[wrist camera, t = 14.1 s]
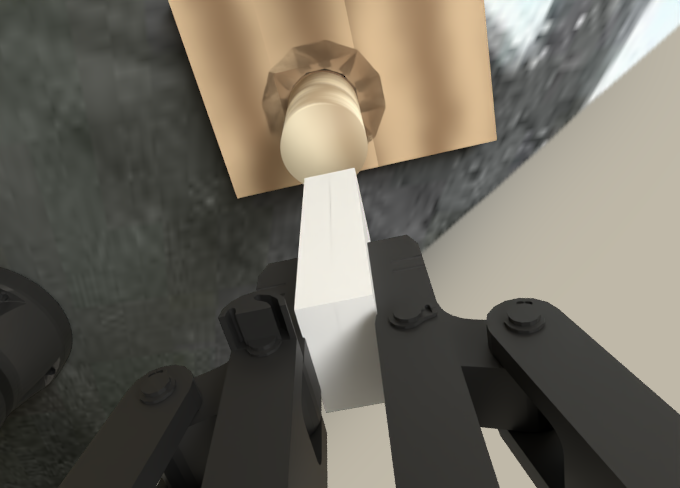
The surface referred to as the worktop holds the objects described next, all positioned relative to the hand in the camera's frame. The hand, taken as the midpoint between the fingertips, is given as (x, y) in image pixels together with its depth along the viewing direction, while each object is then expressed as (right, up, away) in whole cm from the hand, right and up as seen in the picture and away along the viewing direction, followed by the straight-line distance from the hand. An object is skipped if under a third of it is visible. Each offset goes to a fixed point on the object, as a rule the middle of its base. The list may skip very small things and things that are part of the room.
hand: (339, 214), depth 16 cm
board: (0, +14, +28) cm, 31 cm away
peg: (-1, +11, +29) cm, 31 cm away
